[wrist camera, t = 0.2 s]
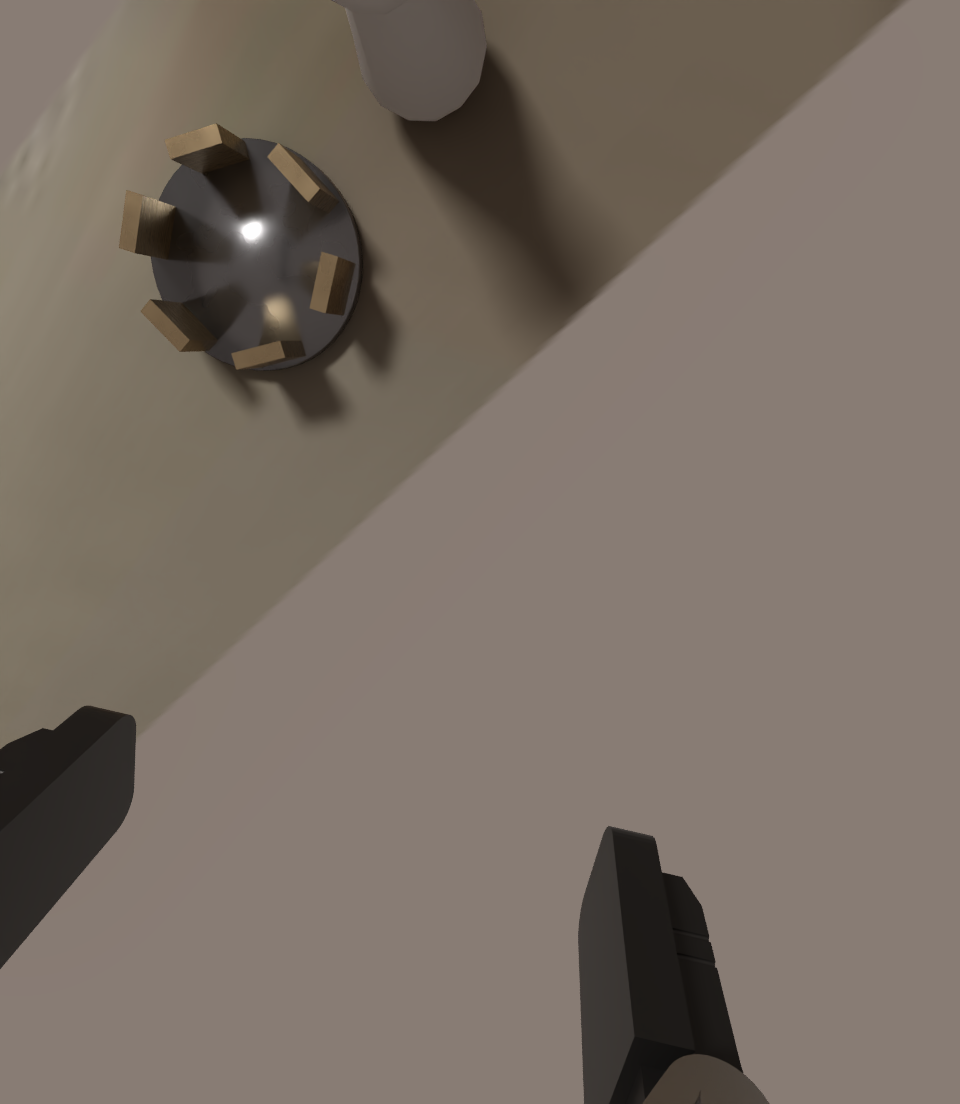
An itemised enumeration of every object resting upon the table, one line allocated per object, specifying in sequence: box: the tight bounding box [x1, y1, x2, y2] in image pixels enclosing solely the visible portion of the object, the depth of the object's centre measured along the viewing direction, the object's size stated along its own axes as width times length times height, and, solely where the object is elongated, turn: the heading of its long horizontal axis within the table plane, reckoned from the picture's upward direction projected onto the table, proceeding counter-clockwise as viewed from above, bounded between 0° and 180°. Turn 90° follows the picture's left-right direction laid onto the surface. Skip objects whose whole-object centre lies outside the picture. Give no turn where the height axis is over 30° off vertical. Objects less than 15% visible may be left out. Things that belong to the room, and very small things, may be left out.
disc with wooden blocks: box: [119, 124, 363, 370], centre depth 35 cm, size 11×11×4 cm
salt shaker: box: [332, 0, 487, 121], centre depth 28 cm, size 6×6×13 cm
